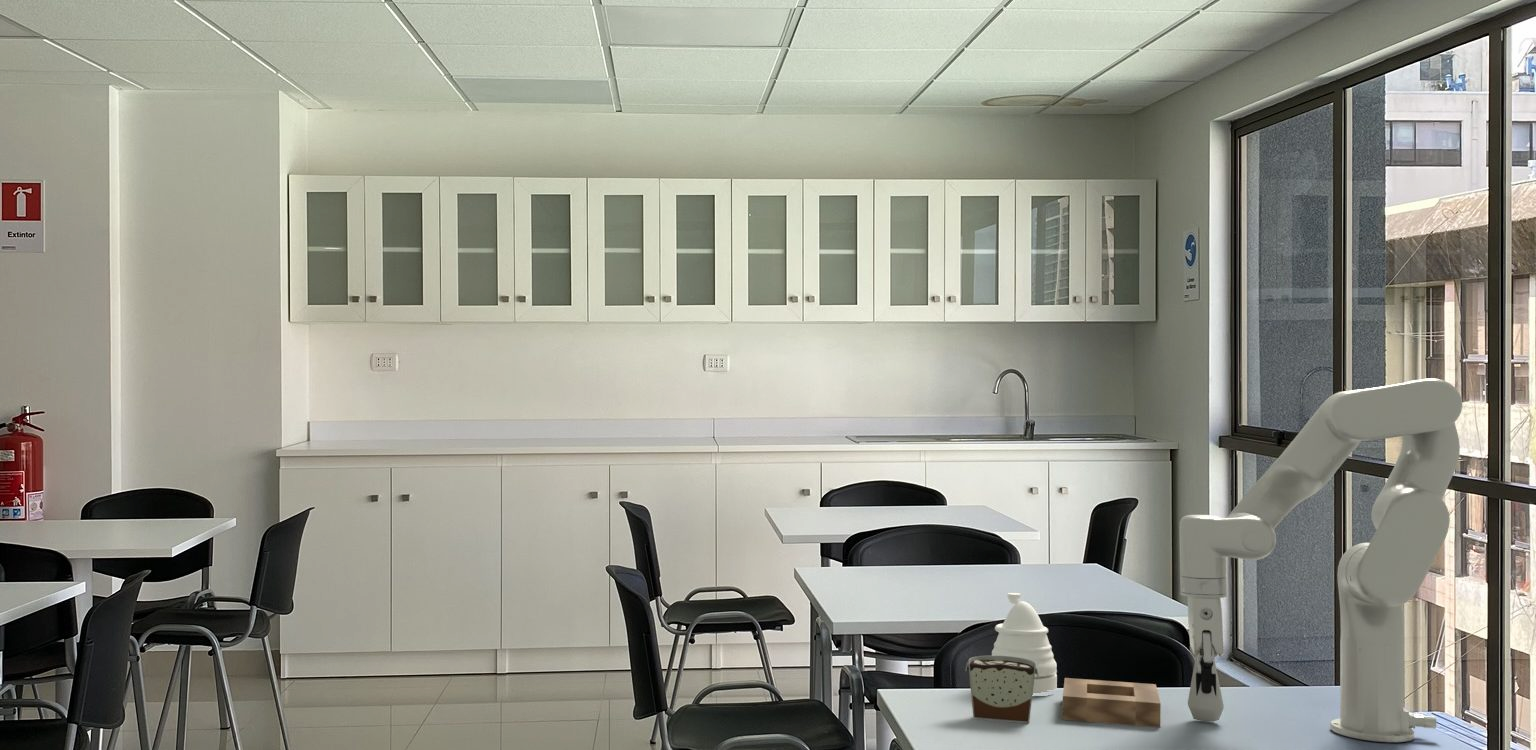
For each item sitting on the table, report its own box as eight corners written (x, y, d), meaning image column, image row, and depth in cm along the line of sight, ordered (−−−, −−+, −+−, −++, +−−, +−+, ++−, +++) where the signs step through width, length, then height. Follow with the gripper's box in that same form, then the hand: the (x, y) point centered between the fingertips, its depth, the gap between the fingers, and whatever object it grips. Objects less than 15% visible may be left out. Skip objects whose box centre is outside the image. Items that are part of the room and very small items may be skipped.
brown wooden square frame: (1155, 706, 221) (1155, 684, 221) (1160, 727, 205) (1160, 703, 205) (1064, 699, 225) (1064, 677, 225) (1062, 719, 209) (1062, 695, 209)
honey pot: (975, 689, 232) (976, 594, 233) (1008, 679, 242) (1009, 588, 243) (1037, 700, 224) (1038, 601, 225) (1068, 689, 234) (1069, 595, 235)
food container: (1040, 716, 212) (1040, 657, 212) (1038, 724, 206) (1038, 664, 206) (968, 710, 215) (969, 652, 215) (964, 718, 209) (965, 659, 210)
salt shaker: (1226, 723, 206) (1224, 645, 207) (1190, 722, 207) (1189, 644, 208) (1220, 715, 212) (1219, 640, 212) (1186, 714, 213) (1184, 639, 213)
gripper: (1231, 593, 202) (1233, 706, 201) (1221, 582, 217) (1223, 686, 217) (1183, 592, 204) (1185, 703, 203) (1177, 580, 219) (1179, 684, 219)
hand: (1205, 693), depth 210 cm, fingers closed on salt shaker, 3 cm apart
